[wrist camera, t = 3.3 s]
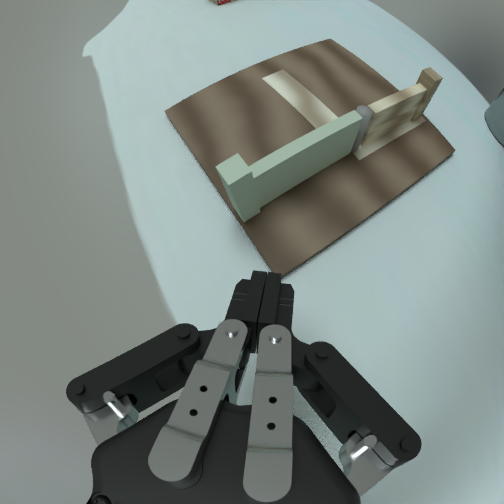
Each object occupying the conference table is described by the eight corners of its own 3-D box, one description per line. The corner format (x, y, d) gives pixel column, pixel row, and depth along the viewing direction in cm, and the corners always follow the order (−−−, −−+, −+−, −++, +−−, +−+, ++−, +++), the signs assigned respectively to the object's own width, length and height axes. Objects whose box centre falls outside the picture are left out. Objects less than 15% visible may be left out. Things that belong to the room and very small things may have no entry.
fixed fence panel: (410, 108, 29) (430, 67, 21) (419, 118, 29) (442, 78, 21) (352, 138, 29) (369, 89, 21) (363, 150, 29) (383, 103, 20)
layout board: (329, 42, 35) (330, 38, 34) (452, 153, 28) (455, 149, 27) (166, 115, 34) (164, 110, 33) (277, 279, 27) (277, 278, 26)
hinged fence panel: (350, 138, 29) (367, 88, 20) (361, 150, 28) (381, 102, 20) (233, 207, 28) (215, 166, 20) (243, 222, 28) (228, 185, 19)
